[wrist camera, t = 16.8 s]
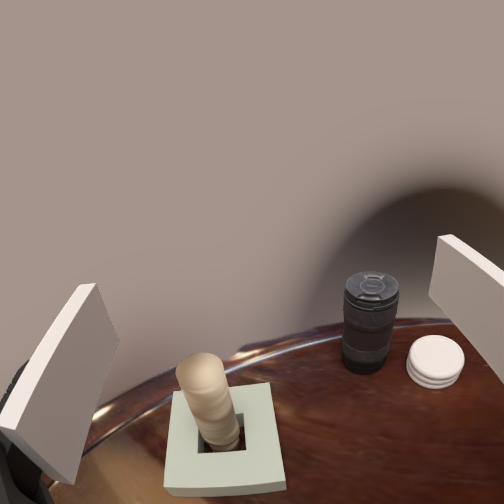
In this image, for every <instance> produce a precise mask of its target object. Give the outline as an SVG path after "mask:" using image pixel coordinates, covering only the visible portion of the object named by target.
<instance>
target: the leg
mask: <svg viewBox="0 0 504 504" xmlns="http://www.w3.org/2000/svg"><path fill="white" fill-rule="evenodd" d="M176 376H177V379H178V382H179V384H180V387H181V389H182V391H183V394H184V396H185V399H186V401H187V403H188V406H189V408H190V410H191V413H192V415H193V417H194V419H195V422H196V424H197V426H198V428H199V430H200V433H201V436H202V438H203V440H204V441H205V442H206V443H207V444H209V445H210V447H211V449H212V451H213V453H219V452H233V451H239V450H240V447H241V443H240V440H239V434H240V427H239V424H238V421H237V418H236V414H235V410H234V406H233V403H232V399H231V395H230V391H229V387H228V384H227V380H226V376H225V372H224V368H223V364H222V361H221V360H220V359H219V358H218V357H217V356H215V355H213V354H209V353H197V354H193V355H190V356H188V357H186V358H185V359H183V360H182V361H181V362H180V363H179V364H178V366H177V368H176Z"/></svg>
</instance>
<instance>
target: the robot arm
mask: <svg viewBox="0 0 504 504" xmlns="http://www.w3.org/2000/svg"><path fill="white" fill-rule="evenodd" d="M428 295H429V297H430V298H431V299H432V300H433V301H434V302H435V303H436V304H437V305H438V306H439V307H440V308H441V310H442V311H443V312H444V313H445V314H446V315H447V316H448V317H449V318H450V320H451V321H452V322H453V323H454V324H455V325H456V326H457V327H458V329H459V330H460V331H461V332H462V333H463V334H464V335H465V337H466V338H467V339H468V340H469V341H470V342H471V344H472V345H473V346H474V347H475V348H476V350H477V351H478V352H479V353H480V354H481V356H482V357H483V358H484V359H485V361H486V362H487V363H488V364H489V366H490V367H491V368H492V369H493V371H494V372H495V373H496V374H497V376H498V377H499V378H500V380H501V381H502V382H503V384H504V272H503V271H502V270H501V269H499V268H498V267H497V266H496V265H494V264H493V263H492V262H490V261H489V260H487V259H486V258H485V257H483V256H482V255H481V254H479V253H478V252H476V251H475V250H474V249H472V248H471V247H469V246H468V245H466V244H465V243H464V242H462V241H461V240H459V239H458V238H456V237H455V236H453V235H445V236H438V241H437V249H436V255H435V262H434V268H433V274H432V279H431V284H430V289H429V294H428ZM118 343H119V339H118V337H117V334H116V332H115V330H114V327H113V325H112V322H111V320H110V318H109V315H108V313H107V310H106V308H105V305H104V303H103V300H102V297H101V295H100V292H99V289H98V287H97V284H96V283H92V284H84V285H79V286H78V288H77V289H76V290H75V292H74V293H73V295H72V296H71V298H70V299H69V300H68V302H67V303H66V305H65V306H64V308H63V309H62V311H61V312H60V313H59V315H58V316H57V318H56V320H55V321H54V322H53V324H52V325H51V327H50V329H49V330H48V332H47V333H46V335H45V336H44V338H43V340H42V341H41V343H40V344H39V346H38V348H37V349H36V351H35V352H34V354H33V356H32V357H31V359H30V360H28V361H27V362H26V363H25V364H24V365H23V366H22V367H21V368H20V369H19V370H18V371H17V373H16V375H15V376H14V378H13V380H12V384H10V385H9V387H8V389H7V390H6V391H7V393H5V394H4V396H3V398H2V400H1V402H0V504H54V502H53V500H52V497H51V495H50V493H49V491H48V488H47V486H46V484H45V483H44V481H43V480H42V479H41V478H40V476H41V473H42V471H43V472H44V473H46V474H47V475H48V476H49V477H50V478H52V479H53V480H55V481H59V482H63V483H67V484H71V485H74V483H75V478H76V474H77V471H78V467H79V463H80V459H81V456H82V452H83V448H84V445H85V441H86V438H87V434H88V431H89V428H90V425H91V421H92V418H93V415H94V412H95V409H96V405H97V402H98V399H99V396H100V393H101V390H102V388H103V384H104V382H105V379H106V376H107V373H108V370H109V368H110V365H111V362H112V359H113V357H114V354H115V351H116V349H117V346H118Z"/></svg>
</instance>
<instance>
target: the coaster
mask: <svg viewBox="0 0 504 504" xmlns="http://www.w3.org/2000/svg"><path fill="white" fill-rule="evenodd" d="M463 365H464V354H463V351H462V349H461V348H460V347H459V345H458V344H457V343H455V342H454V341H453V340H451V339H449V338H447V337H444V336H439V335H430V336H425V337H422V338H420V339H418V340H416V341H415V342H414V343H413V345H412V346H411V348H410V351H409V355H408V358H407V362H406V368H407V372H408V374H409V376H410V377H411V379H412V380H413V381H414V382H415V383H417V384H418V385H420V386H422V387H425V388H428V389H443V388H446V387H448V386H450V385H452V384H453V383H454V382H455V381H456V380H457V378H458V377H459V374H460V372H461V370H462V368H463Z"/></svg>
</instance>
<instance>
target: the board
mask: <svg viewBox="0 0 504 504" xmlns="http://www.w3.org/2000/svg"><path fill="white" fill-rule="evenodd" d="M229 391H230V395H231V399H232V403H233V406H234V410H235V414H236V418H237V421H238V424H239V427H245V439H246V450H244V451H233V452H219V453H204V440H203V438H202V436H201V433H200V430H199V428H198V426H197V424H196V422H195V419H194V417H193V415H192V413H191V410H190V408H189V406H188V403H187V401H186V399H185V396H184V394H183V391H174V393H173V401H172V409H171V417H170V426H169V435H168V444H167V454H166V464H165V475H164V488H165V489H166V490H167V491H168V492H169V493H170V494H171V495H172V496H176V497H215V496H235V495H248V494H258V493H267V492H275V491H282V490H286V480H285V474H284V468H283V462H282V456H281V450H280V444H279V438H278V432H277V427H276V421H275V415H274V408H273V402H272V396H271V390H270V384H269V382H268V383H261V384H253V385H245V386H237V387H229Z"/></svg>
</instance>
